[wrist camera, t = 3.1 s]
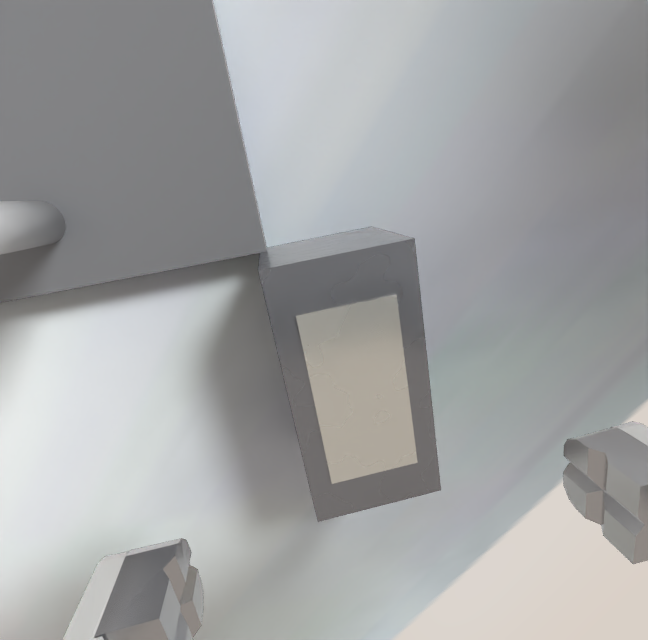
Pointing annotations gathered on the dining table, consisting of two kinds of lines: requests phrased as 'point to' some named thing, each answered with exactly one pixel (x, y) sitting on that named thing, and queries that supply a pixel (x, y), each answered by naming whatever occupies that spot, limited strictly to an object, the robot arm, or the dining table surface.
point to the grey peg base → (117, 144)
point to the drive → (354, 366)
